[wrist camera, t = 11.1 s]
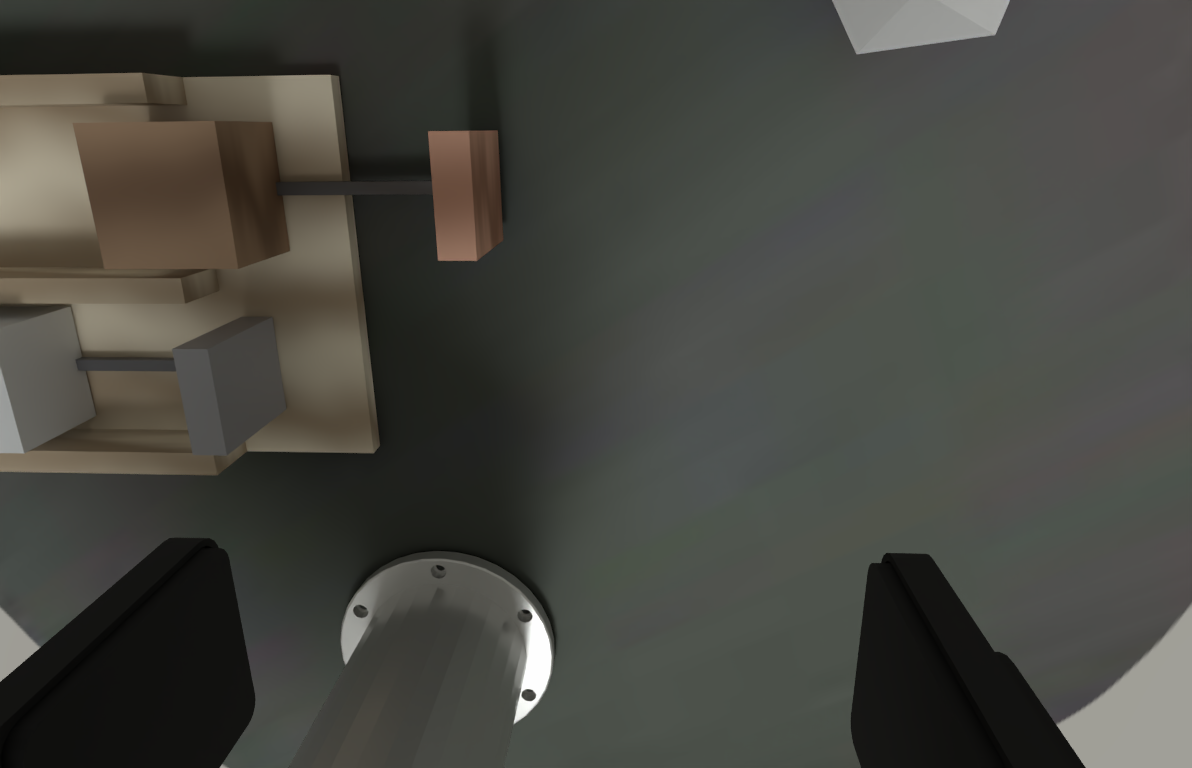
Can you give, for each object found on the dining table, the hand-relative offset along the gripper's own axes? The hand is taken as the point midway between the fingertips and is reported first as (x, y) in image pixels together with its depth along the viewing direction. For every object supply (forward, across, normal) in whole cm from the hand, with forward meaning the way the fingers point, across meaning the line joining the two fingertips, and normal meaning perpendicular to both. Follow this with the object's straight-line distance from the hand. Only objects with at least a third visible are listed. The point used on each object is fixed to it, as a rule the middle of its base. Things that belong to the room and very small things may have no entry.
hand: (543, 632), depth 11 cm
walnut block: (+27, +14, -4) cm, 31 cm away
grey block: (+27, +26, +4) cm, 38 cm away
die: (+28, -12, -14) cm, 34 cm away
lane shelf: (+28, +24, 0) cm, 37 cm away
